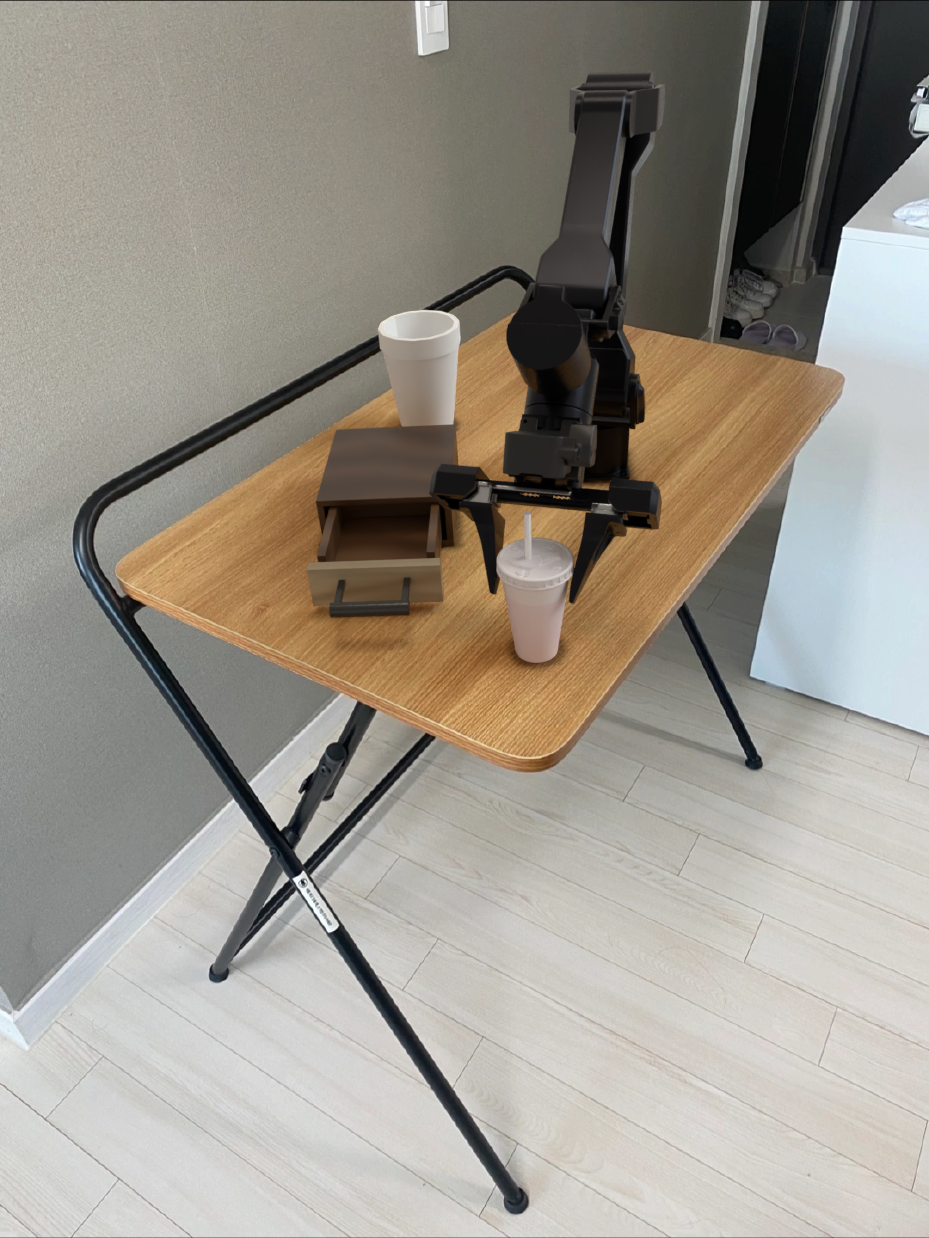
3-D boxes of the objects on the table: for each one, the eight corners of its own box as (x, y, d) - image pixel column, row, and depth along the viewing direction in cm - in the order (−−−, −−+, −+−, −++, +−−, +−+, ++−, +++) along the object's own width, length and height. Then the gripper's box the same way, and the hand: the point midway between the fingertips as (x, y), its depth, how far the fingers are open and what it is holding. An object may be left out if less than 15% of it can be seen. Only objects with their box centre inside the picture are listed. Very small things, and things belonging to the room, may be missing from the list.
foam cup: (438, 451, 114) (429, 346, 106) (375, 435, 118) (362, 333, 110) (479, 418, 120) (474, 316, 112) (418, 404, 124) (409, 305, 116)
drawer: (441, 635, 85) (437, 597, 83) (305, 639, 86) (297, 602, 83) (449, 519, 100) (446, 484, 98) (333, 523, 101) (327, 488, 98)
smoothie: (496, 630, 87) (489, 495, 78) (566, 623, 87) (567, 488, 78) (504, 676, 82) (498, 538, 73) (579, 669, 82) (582, 530, 73)
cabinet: (454, 545, 98) (450, 495, 94) (324, 550, 99) (315, 501, 95) (459, 470, 110) (455, 424, 106) (343, 475, 111) (335, 429, 107)
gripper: (425, 373, 75) (395, 568, 74) (667, 388, 70) (639, 596, 69) (459, 420, 86) (433, 591, 84) (671, 435, 81) (647, 616, 80)
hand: (531, 598), depth 79 cm, fingers closed on smoothie, 6 cm apart
